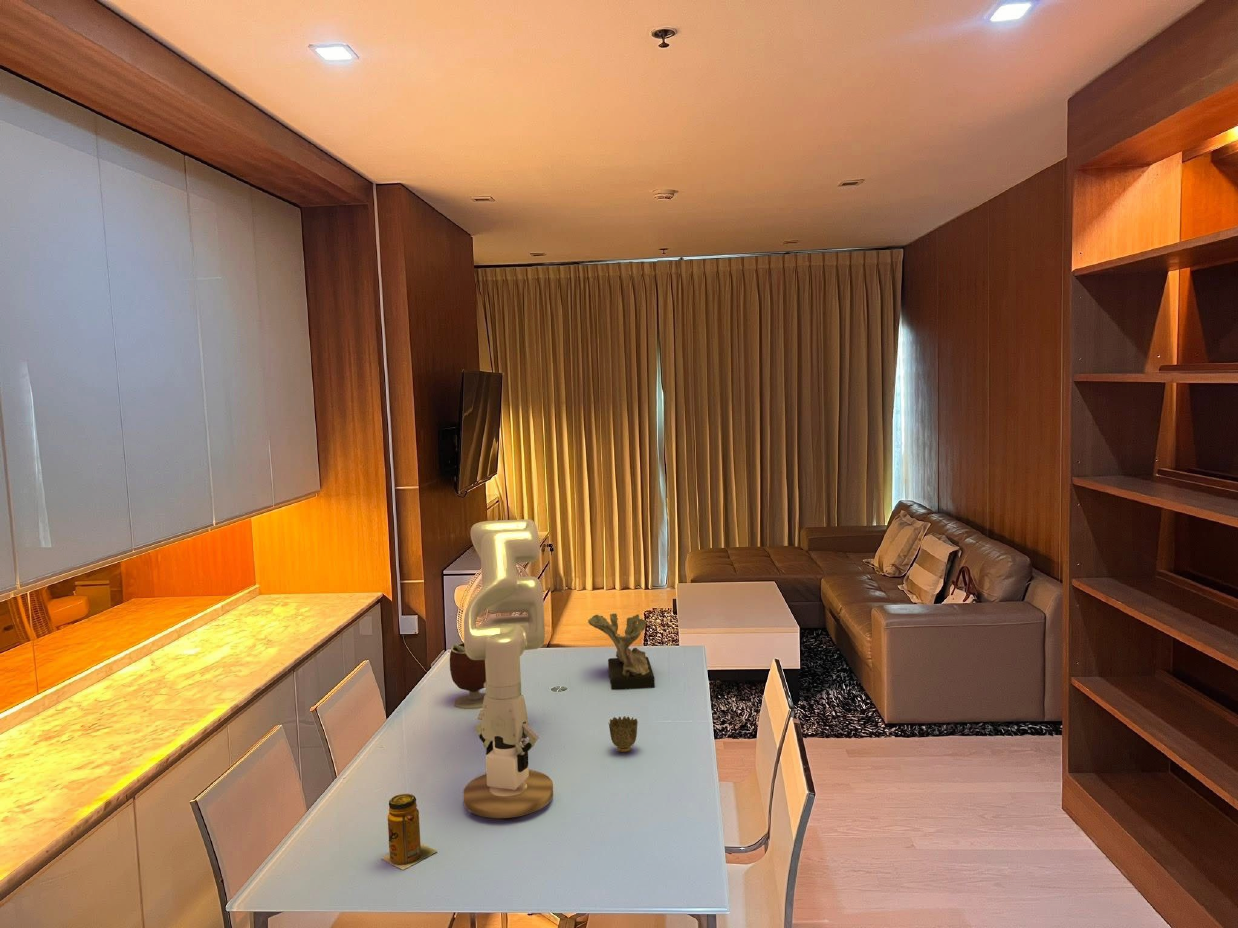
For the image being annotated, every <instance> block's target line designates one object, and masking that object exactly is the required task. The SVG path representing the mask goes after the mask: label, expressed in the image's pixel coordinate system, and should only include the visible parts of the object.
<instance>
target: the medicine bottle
mask: <svg viewBox="0 0 1238 928" xmlns="http://www.w3.org/2000/svg"><path fill="white" fill-rule="evenodd" d="M494 740H495V741H493V750H492V751H491V752H490V753H489V754H487V755H485V767H486V768H485V769H486V770H485V771H486V772H485V774H487V786H489V787H497V788H504V789H512V790H515V789H517V788H518V787H519V786H520V785H521V784H522V783H523V782H524V781H525V780H526V779H527V778H528V777H529V770H530V769H529V766H528V767H527V768H526V769H525V770H523V771H522V772H518V761H517V755H518V754H519V752H518V750H517V748H516V746H515V745H509V744H505V743H503V738H502V737H500V736H495V737H494ZM522 747H523V745H522Z"/></svg>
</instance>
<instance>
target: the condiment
mask: <svg viewBox="0 0 1238 928" xmlns="http://www.w3.org/2000/svg"><path fill="white" fill-rule="evenodd" d="M417 806H418V805H417V798H416V796H415V795H413V794H412V793H401V794H397V795H395V796H392V797H391V798H390V799H389V801H388V814H387V830H388V831H387V832H388V848H389V849H388V851H389V854H387V855H385V856H383V857H381V860H383V861H384V862H386V863H389V865H392V866H394V867H396V868H398V869H401V870H402V871H404V870H406V869H408V868H410V867H412V866H413V865H416V864H417V863H419V862H421V861H423V860H424V859H425V858H428V857H430V856H432V855H433V854H434V853H437V852H438V850H437V849H434V848H432V847H429V846H427V845H425V844H424V843H421V829H420V828H421V827H420V811H419V809H418V808H417Z"/></svg>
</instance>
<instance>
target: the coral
mask: <svg viewBox="0 0 1238 928" xmlns="http://www.w3.org/2000/svg"><path fill="white" fill-rule="evenodd" d="M609 617H610V618H609V620H610V622H609V621H608V619H607V618H606V617H604V616H603V615H599V614H594V615H593V616H592V617H590V618H589V619H587V620H588V621H587V622H588V624H589V625H590V626H592V627H593V628H595V629H598V630H600V631H601V632H603V633H604V634H605V635H607V636H608V637H609V638H610V640H611V641H612V642H613V644H614V646H615V648H616V652H615V657H613V658H608V660H607V665H608V668H607V669H608V674H609V681H610V689H611V691H612V690H613V691H617V690H631V689H632V690H634V689H635V690H636V689H638V690H639V689H652V688H655V685H656V684H655V681H656V680H655V673H654V671H653V669H652V665H651V661H650V659H649V657H648V656H647V655H646V651H642V650H639V649H638V648H637V647H634V648H632V649H631V648H630V646H631V645H632V644H633V643H634V642H635V641H637V639H639V638H640V636H641V633H642V632H644V630H645V628H646V624H647V620H646V619H644V618H640V614H635V615H632V616H631V617H630V616H629V617H627V618H626V624H625V625H626V627H625V630H624V634H625V635H622V636H621V634H619V633H618V630H619V623H618V620H619V619H618V614H617V613H610V614H609Z"/></svg>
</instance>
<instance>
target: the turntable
mask: <svg viewBox="0 0 1238 928" xmlns="http://www.w3.org/2000/svg"><path fill="white" fill-rule="evenodd" d="M462 793H463V794H462V796H463V805H464V807H465V809H467V810H468V811H469V812H470V813H472V814H474V815H476V816H479V817H484V818H489V819H490V818H491V819H512V818H511V817H513V818H517V817H518V816H519V817H521V816H522V817H523V816H525V815H528V814H533V813H534V812H538V811H539V810H541V809H543V808H544V807H546V806H547V805H549V803H550V802H551V801H552V799H553V797H554V783H553V780H552V779H551V778H550V776H548V775H547V774H545V773H543V772H540V771H538V770H537V771H536V770H532V769H529V777H528V778H527V779H526V780H525V781H524V782H523V783H522V784H521V785H520V786H519V787H518V788H517V789H515V790H512V789H504V788H497V787H489V786H487V774H486V773H484V774H482V775H479V776H477V777H475V778H474V779H472V780H471V781H470V782H468V783H467V784H466V785H465V787H464V788H463V792H462Z"/></svg>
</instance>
